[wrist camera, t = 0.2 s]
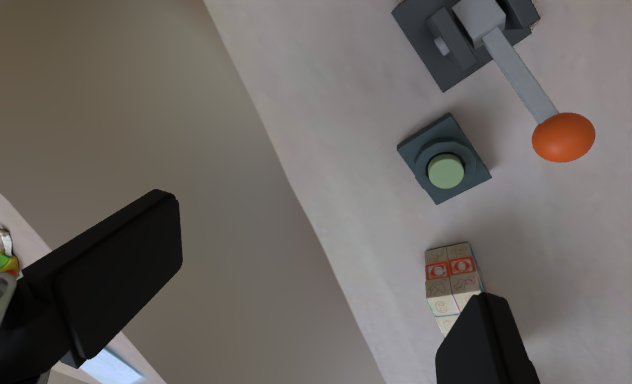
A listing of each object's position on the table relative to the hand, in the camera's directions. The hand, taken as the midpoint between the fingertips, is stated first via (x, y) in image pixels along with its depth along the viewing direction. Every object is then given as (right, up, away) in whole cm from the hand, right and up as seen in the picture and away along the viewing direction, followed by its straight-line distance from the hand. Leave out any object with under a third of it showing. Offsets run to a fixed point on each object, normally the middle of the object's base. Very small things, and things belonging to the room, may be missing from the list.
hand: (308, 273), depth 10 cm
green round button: (+15, +5, +25) cm, 30 cm away
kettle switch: (+15, +11, +12) cm, 22 cm away
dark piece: (+16, +7, +28) cm, 33 cm away
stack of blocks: (+23, -14, +37) cm, 46 cm away
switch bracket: (+15, +20, +21) cm, 33 cm away
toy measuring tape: (-77, -13, +67) cm, 103 cm away
